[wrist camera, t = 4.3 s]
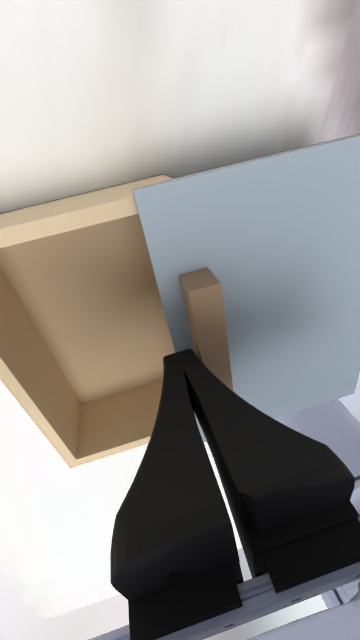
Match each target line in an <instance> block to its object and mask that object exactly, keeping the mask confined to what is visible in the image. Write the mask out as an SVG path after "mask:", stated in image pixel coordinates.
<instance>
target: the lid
mask: <svg viewBox="0 0 360 640" xmlns="http://www.w3.org/2000/svg"><path fill="white" fill-rule="evenodd" d="M132 192H133V196H134V199H135V203H136V207H137V211H138V215H139V218H140V222H141V226H142V230H143V234H144V237H145V241H146V245H147V249H148V253H149V256H150V260H151V264H152V268H153V272H154V275H155V279H156V283H157V287H158V291H159V294H160V298H161V302H162V306H163V310H164V313H165V317H166V321H167V325H168V329H169V332H170V336H171V340H172V344H173V348H174V351H175V353H176V352H180V351H183V350H186V349H192V350H193V351H194V353H195V354H196V355H197V357H198V358H199V359H200V360H201V361H202V363H203V364H204V365H205V366H206V367H207V368H208V369H209V370H210V371H211V372H212V373H213V374H214V375H215V376H216V377H217V378H218V379H219V380H220V381H222V382H223V383H224V384H225V385H226V386H227V387H229V388H230V389H231V390H232V391H233V392H235V393H236V394H237V395H238V396H240V397H241V398H243V399H244V400H245V401H247V402H248V403H249V404H251V405H252V406H254V407H255V408H257V409H258V410H260V411H262V412H263V413H265V414H267V415H268V416H270V417H272V418H273V419H276V418H279V417H282V416H285V415H288V414H291V413H294V412H297V411H300V410H303V409H306V408H309V407H312V406H315V405H319V404H322V403H325V402H328V401H331V400H334V399H337V398H340V397H343V396H346V395H349V394H352V393H354V391H355V387H356V382H357V379H358V375H359V371H360V134H356V135H352V136H348V137H343V138H339V139H335V140H331V141H327V142H323V143H319V144H314V145H310V146H306V147H302V148H298V149H294V150H290V151H286V152H281V153H277V154H273V155H269V156H265V157H261V158H257V159H252V160H248V161H244V162H240V163H236V164H232V165H228V166H224V167H219V168H215V169H211V170H207V171H203V172H199V173H195V174H190V175H186V176H182V177H178V178H174V179H170V180H166V181H162V182H157V183H153V184H149V185H145V186H141V187H137V188H133V189H132ZM194 413H195V412H194ZM195 417H196V415H195ZM196 422H197V425H198V428H199V431H200V434H201V437H202V440H203V442H205V441H207V440H206V438H205V436H204V433H203V431H202V429H201V426H200V424H199V422H198V419H197V417H196Z"/></svg>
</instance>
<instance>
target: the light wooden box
mask: <svg viewBox="0 0 360 640" xmlns="http://www.w3.org/2000/svg"><path fill="white" fill-rule="evenodd" d="M170 179H172V178H170V177H168V176H165V175H159V176H154V177H150V178H146V179H142V180H138V181H134V182H129V183H125V184H121V185H117V186H113V187H109V188H104V189H100V190H96V191H92V192H88V193H84V194H79V195H75V196H71V197H67V198H63V199H59V200H54V201H50V202H46V203H42V204H38V205H34V206H29V207H25V208H21V209H17V210H13V211H9V212H4V213H0V379H1V381H2V382H3V383H4V384H5V386H6V387H7V388H8V390H9V391H10V392H11V393H12V395H13V396H14V397H15V398H16V400H17V401H18V402H19V404H20V405H21V406H22V407H23V409H24V410H25V411H26V412H27V414H28V415H29V416H30V417H31V419H32V420H33V421H34V423H35V424H36V425H37V426H38V428H39V429H40V430H41V431H42V433H43V434H44V435H45V436H46V438H47V439H48V440H49V442H50V443H51V444H52V445H53V447H54V448H55V449H56V450H57V452H58V453H59V454H60V456H61V457H62V458H63V459H64V461H65V462H66V463H67V464H68V466H69V467H70V468H72V467H75V466H78V465H81V464H85V463H88V462H91V461H94V460H97V459H100V458H103V457H106V456H110V455H113V454H116V453H119V452H122V451H125V450H128V449H131V448H135V447H138V446H141V445H144V444H147V443H149V440H150V437H151V435H152V431H153V428H154V424H155V421H156V417H157V413H158V408H159V403H160V398H161V392H162V384H163V372H164V365H163V358H164V356H166V355H169V354H173V353H175V351H174V348H173V344H172V340H171V336H170V332H169V329H168V325H167V321H166V317H165V313H164V310H163V306H162V302H161V298H160V294H159V291H158V287H157V283H156V279H155V275H154V272H153V268H152V264H151V260H150V256H149V253H148V249H147V245H146V241H145V237H144V234H143V230H142V226H141V222H140V218H139V215H138V211H137V207H136V203H135V199H134V196H133V192H132V189H133V188H137V187H141V186H145V185H149V184H153V183H157V182H162V181H166V180H170Z"/></svg>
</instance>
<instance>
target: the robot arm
mask: <svg viewBox="0 0 360 640" xmlns="http://www.w3.org/2000/svg"><path fill="white" fill-rule="evenodd" d="M163 365H164V372H163V384H162V392H161V398H160V403H159V408H158V413H157V417H156V421H155V424H154V428H153V431H152V435H151V437H150V440H149V443H148V446H147V449H146V452H145V455H144V457H143V460H142V462H141V464H140V467H139V469H138V471H137V474H136V476H135V478H134V481H133V483H132V485H131V487H130V489H129V491H128V493H127V495H126V497H125V499H124V501H123V503H122V505H121V507H120V509H119V511H118V513H117V515H116V519H115V524H114V530H113V536H112V545H111V584H112V585H113V587H114V588H115V589H116V590H117V591H118V592H119V593H121V594H122V595H123V596H124V597H125V598H126V599H128V604H129V625H127V626H124V627H122V628H119V629H116V630H113V631H111V632H108V633H105V634H103V635H100V636H97V637H95V638H92V639H89V640H203V639H206V638H208V637H211V636H213V635H216V634H218V633H221V632H223V631H226V630H229V629H232V628H234V627H237V626H239V625H242V624H244V623H247V622H249V621H252V620H255V619H257V618H260V617H262V616H265V615H268V614H270V613H273V612H275V611H278V610H280V609H283V608H286V607H288V606H291V605H294V604H296V603H299V602H301V601H304V600H306V599H309V598H312V597H314V596H317V595H319V594H321V596H322V598H323V600H324V602H325V604H326V606H327V608H328V609H327V610H324V611H321V612H318V613H315V614H312V615H310V616H307V617H304V618H301V619H298V620H296V621H293V622H290V623H288V624H285V625H283V626H280V627H277V628H275V629H272V630H270V631H267V632H265V633H263V634H260V635H258V636H255V637H253V638H250V639H248V640H360V422H359V421H358V420H357V419H356V418H355V417H354V416H353V415H352V414H351V413H350V412H349V410H347V408H346V407H345V406H344V405H343V404H342V403H341V402H340V401H339V400H338V399H334V400H331V401H328V402H325V403H322V404H319V405H315V406H312V407H309V408H306V409H303V410H300V411H297V412H294V413H291V414H288V415H285V416H282V417H279V418H276V419H273V418H272V417H270V416H268V415H267V414H265V413H263V412H262V411H260V410H258V409H257V408H255V407H254V406H252V405H251V404H249V403H248V402H247V401H245V400H244V399H243V398H241V397H240V396H238V395H237V394H236V393H235V392H233V391H232V390H231V389H230V388H229V387H227V386H226V385H225V384H224V383H223V382H222V381H220V380H219V379H218V378H217V377H216V376H215V375H214V374H213V373H212V372H211V371H210V370H209V369H208V368H207V367H206V366H205V365H204V364H203V363H202V361H201V360H200V359H199V358H198V357H197V355H196V354H195V353H194V351H193V350H192V349H186V350H183V351H180V352H176V353H173V354H169V355H166V356H164V358H163ZM194 412H195V413H194ZM195 415H196V417H197V419H198V422H199V424H200V426H201V429H202V431H203V433H204V436H205V438H206V440H207V443H208V445H209V447H210V450H211V452H212V455H213V458H214V461H215V464H216V467H217V470H218V473H219V476H220V479H221V482H222V485H223V488H224V491H225V494H226V497H227V500H228V503H229V506H230V509H231V513H232V516H233V519H234V522H235V525H236V528H237V531H238V534H239V537H240V541H241V544H242V547H243V550H244V553H245V556H246V559H247V562H248V566H249V569H250V572H251V575H252V578H253V579H250V580H247V581H245V582H244V581H243V577H242V573H241V568H240V563H239V561H240V560H239V556H238V551H237V546H236V542H235V537H234V532H233V528H232V524H231V521H230V518H229V515H228V512H227V509H226V506H225V503H224V500H223V497H222V494H221V491H220V489H219V486H218V483H217V480H216V477H215V474H214V472H213V469H212V466H211V463H210V460H209V457H208V454H207V452H206V449H205V446H204V443H203V440H202V437H201V434H200V431H199V428H198V425H197V422H196V417H195Z"/></svg>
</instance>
